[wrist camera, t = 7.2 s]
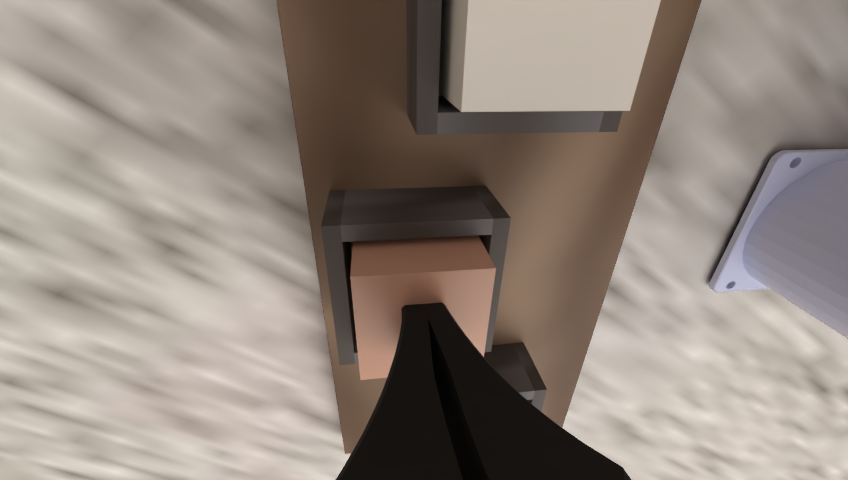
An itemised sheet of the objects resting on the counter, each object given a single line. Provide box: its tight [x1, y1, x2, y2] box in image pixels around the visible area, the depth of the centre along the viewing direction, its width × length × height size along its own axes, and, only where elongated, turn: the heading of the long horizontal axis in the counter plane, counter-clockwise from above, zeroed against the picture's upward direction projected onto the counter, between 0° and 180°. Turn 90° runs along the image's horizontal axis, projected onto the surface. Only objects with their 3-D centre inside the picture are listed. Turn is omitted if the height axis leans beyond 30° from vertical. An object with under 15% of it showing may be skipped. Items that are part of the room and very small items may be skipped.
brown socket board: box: [277, 0, 701, 454], centre depth 16 cm, size 14×28×4 cm, turn 179°
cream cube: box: [439, 0, 661, 112], centre depth 10 cm, size 4×4×4 cm
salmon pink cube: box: [350, 235, 496, 380], centre depth 14 cm, size 4×4×4 cm
